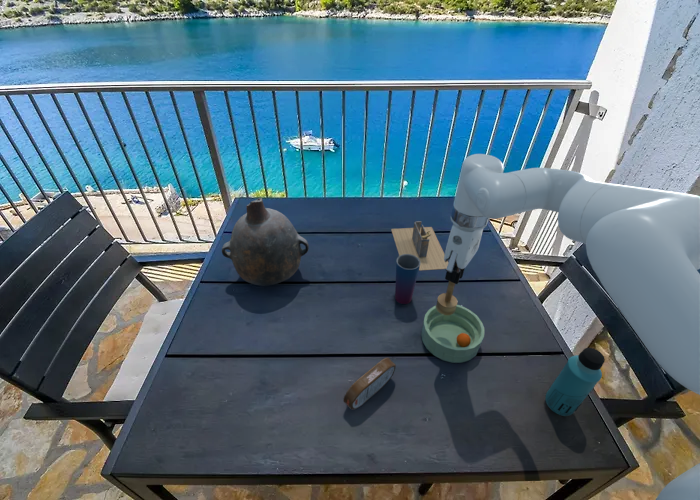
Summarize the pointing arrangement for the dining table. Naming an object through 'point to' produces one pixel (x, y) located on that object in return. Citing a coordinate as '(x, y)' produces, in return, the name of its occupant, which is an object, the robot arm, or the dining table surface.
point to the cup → (406, 277)
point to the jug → (264, 246)
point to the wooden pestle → (447, 301)
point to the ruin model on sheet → (420, 246)
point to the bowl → (452, 334)
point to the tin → (369, 383)
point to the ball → (463, 340)
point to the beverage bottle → (575, 382)
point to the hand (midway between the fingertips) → (453, 278)
